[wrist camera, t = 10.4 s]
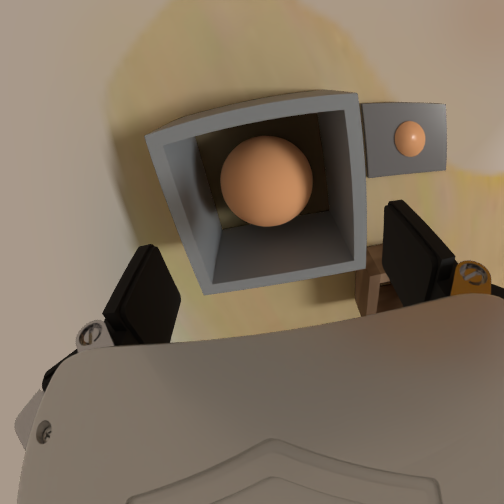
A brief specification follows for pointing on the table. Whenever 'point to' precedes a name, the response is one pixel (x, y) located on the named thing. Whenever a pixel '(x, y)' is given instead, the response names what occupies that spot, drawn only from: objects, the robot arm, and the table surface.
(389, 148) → the card
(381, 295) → the brown open box
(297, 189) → the ball
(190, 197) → the grey hollow box
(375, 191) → the table surface
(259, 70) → the table surface
